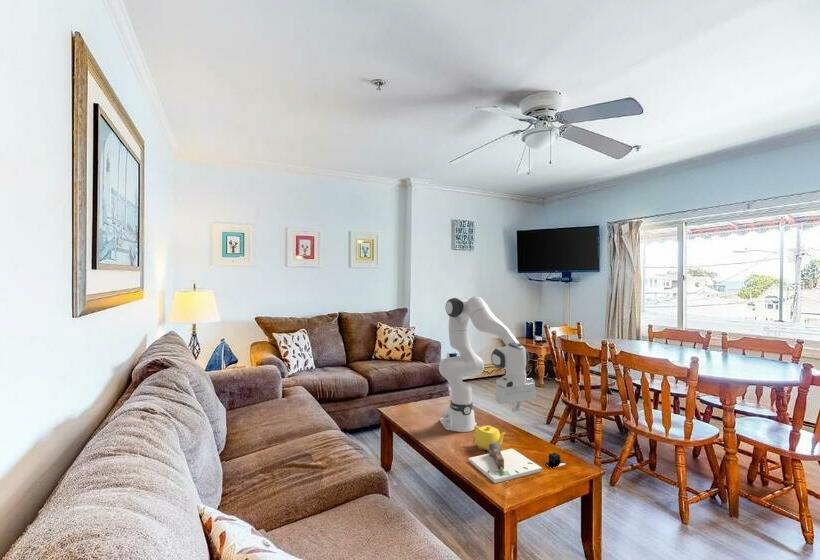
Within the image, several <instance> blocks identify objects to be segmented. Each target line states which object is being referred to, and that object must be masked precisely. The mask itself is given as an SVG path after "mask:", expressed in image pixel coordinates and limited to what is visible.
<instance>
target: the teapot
mask: <svg viewBox="0 0 820 560" xmlns="http://www.w3.org/2000/svg"><path fill="white" fill-rule="evenodd" d="M473 431H474V433H475V434H476V435H475V437H474V438H475V439H474V442H475V445H476V447H478V449H479V450H485V451H487V453H489V444H490V443H499V444H500V445H501V446H502V444H503V441H504V436H505V434H507V432H501V433H500V431H499V429H498V428H496V427H494V426H491V425H482V426H478V425H476V426H474V430H473Z"/></svg>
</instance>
